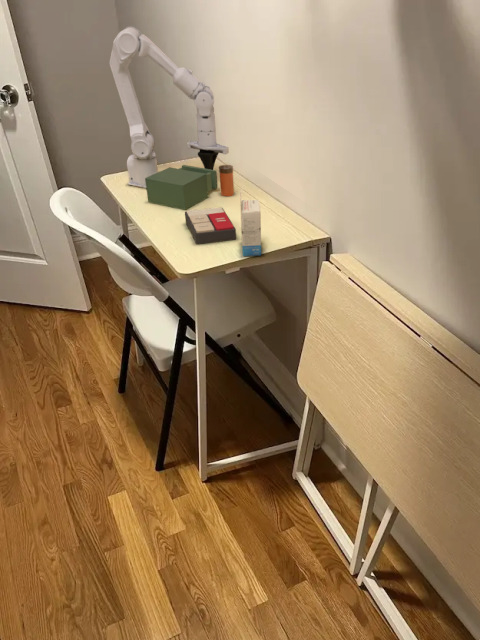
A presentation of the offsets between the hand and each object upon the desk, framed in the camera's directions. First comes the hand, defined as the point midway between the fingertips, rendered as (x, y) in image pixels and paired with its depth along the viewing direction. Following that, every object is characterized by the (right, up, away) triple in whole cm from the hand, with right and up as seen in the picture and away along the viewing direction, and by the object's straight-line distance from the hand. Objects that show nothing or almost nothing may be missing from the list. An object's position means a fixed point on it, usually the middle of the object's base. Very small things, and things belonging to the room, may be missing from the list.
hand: (209, 173), depth 188 cm
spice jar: (+7, -9, -6) cm, 13 cm away
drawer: (-4, -7, -5) cm, 9 cm away
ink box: (+16, -35, -40) cm, 55 cm away
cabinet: (-8, -12, -11) cm, 18 cm away
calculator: (+4, -28, -30) cm, 41 cm away
